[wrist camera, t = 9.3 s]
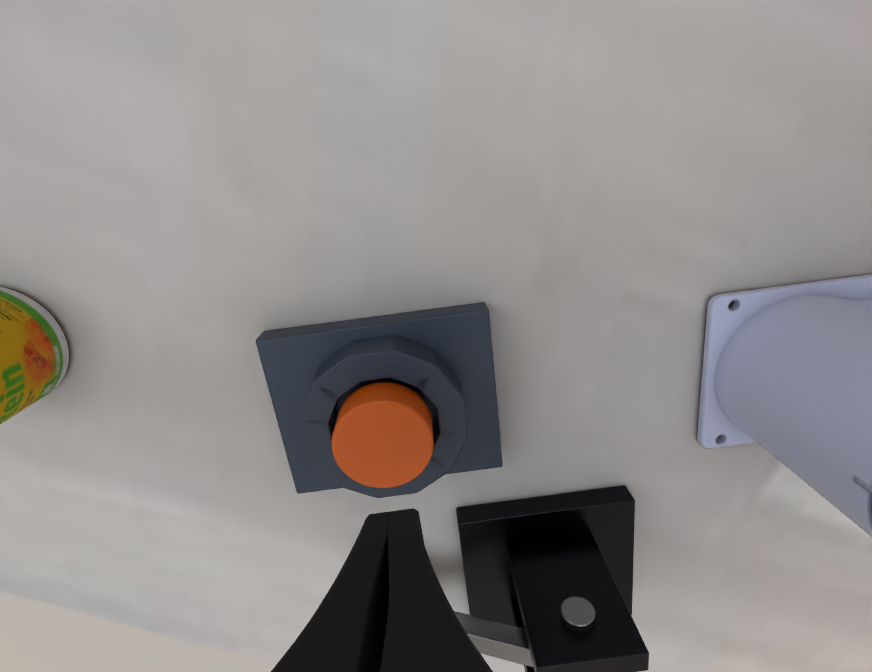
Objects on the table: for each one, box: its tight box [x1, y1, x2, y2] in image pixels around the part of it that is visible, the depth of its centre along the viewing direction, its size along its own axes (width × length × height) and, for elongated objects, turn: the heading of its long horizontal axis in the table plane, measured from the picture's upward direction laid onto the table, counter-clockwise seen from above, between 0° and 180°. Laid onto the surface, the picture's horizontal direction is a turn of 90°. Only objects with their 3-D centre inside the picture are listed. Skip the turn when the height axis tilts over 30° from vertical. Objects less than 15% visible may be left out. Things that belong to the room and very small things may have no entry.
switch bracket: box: [456, 486, 649, 672], centre depth 23 cm, size 9×8×8 cm
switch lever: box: [454, 611, 533, 667], centre depth 23 cm, size 11×3×3 cm, turn 97°
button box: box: [256, 302, 502, 498], centre depth 22 cm, size 10×8×3 cm
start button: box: [332, 382, 434, 488], centre depth 20 cm, size 4×4×2 cm
